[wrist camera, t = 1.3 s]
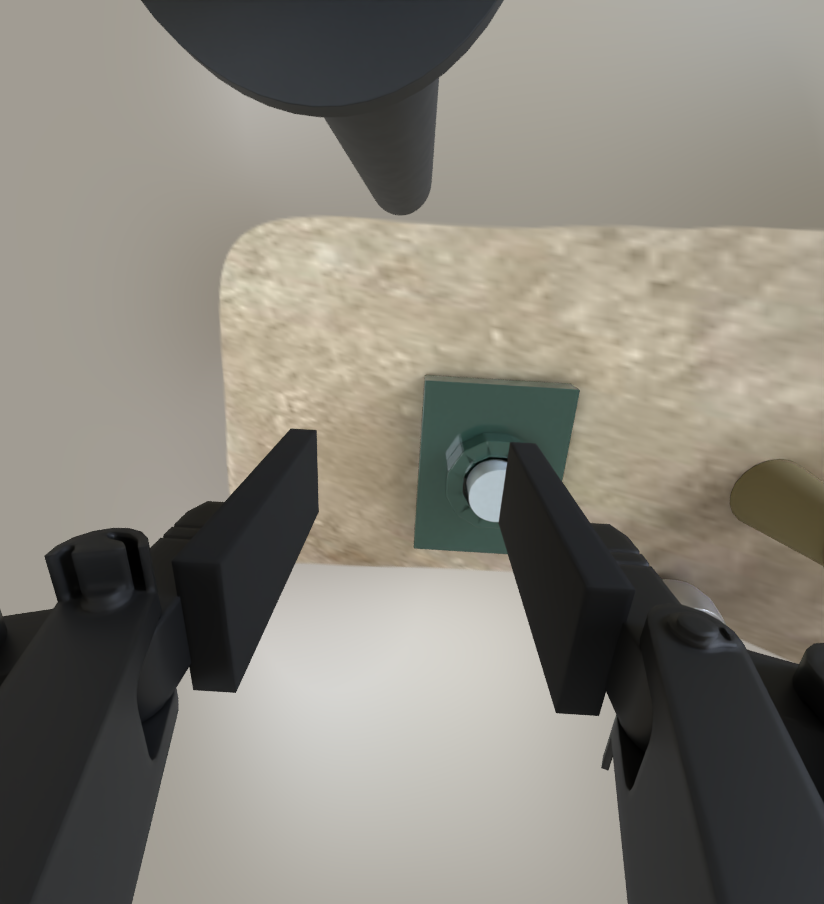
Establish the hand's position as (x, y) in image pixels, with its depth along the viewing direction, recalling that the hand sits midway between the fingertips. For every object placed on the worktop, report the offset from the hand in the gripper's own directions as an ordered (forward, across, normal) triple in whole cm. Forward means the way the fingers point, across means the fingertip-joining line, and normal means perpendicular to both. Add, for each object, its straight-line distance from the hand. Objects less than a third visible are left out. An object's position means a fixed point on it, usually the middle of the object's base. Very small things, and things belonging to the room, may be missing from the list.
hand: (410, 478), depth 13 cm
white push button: (+17, +6, -8) cm, 20 cm away
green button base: (+21, +6, -8) cm, 23 cm away
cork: (+21, +29, -9) cm, 37 cm away
